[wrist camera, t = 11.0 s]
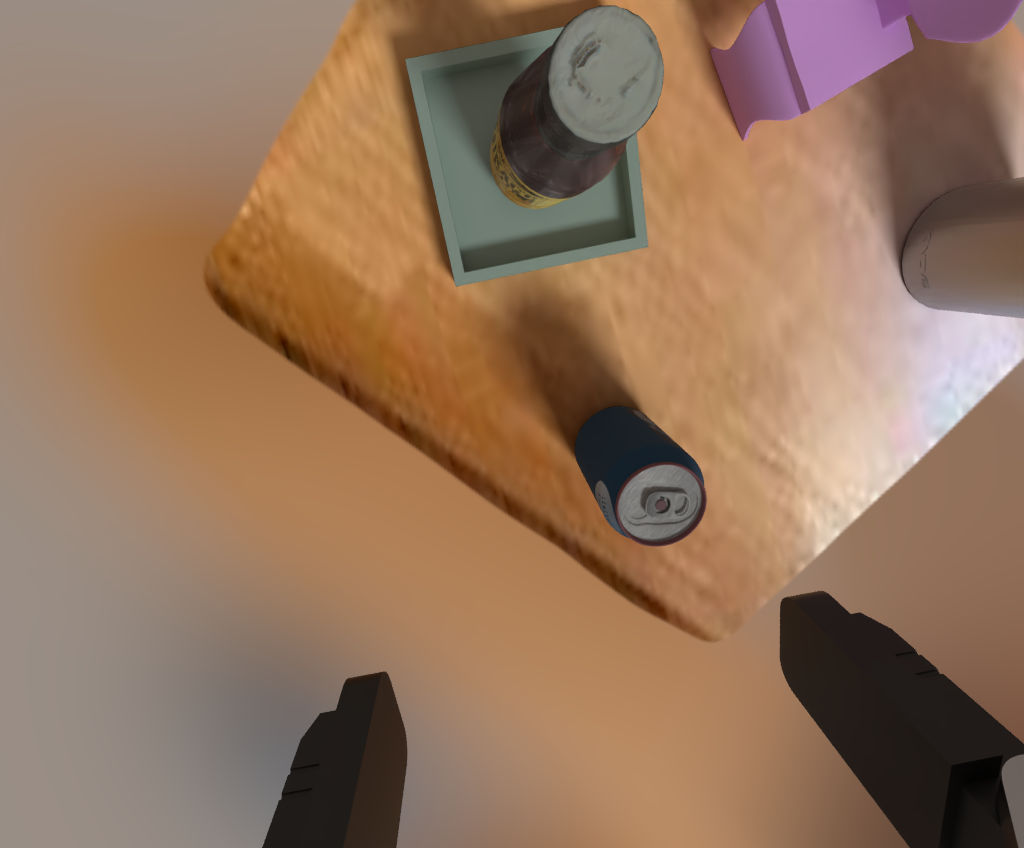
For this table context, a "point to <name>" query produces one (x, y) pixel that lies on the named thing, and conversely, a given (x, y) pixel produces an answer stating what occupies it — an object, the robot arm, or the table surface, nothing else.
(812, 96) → the chair
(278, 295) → the table surface
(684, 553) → the table surface
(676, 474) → the soda can
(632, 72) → the sauce bottle
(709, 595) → the table surface
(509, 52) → the tray
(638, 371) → the table surface
